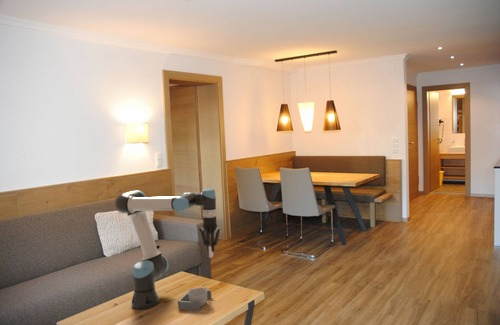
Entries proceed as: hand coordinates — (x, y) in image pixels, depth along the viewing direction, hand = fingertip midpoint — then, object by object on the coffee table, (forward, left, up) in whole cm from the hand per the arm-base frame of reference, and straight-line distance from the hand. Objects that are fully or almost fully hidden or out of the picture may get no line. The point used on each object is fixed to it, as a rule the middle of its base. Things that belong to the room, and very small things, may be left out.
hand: (211, 256), depth 233 cm
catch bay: (-8, -8, -25) cm, 27 cm away
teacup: (-5, -7, -25) cm, 27 cm away
